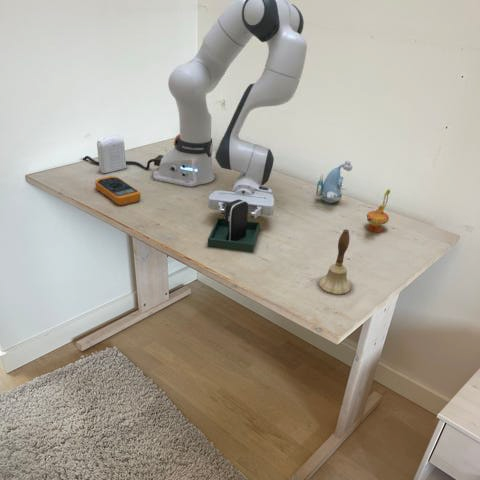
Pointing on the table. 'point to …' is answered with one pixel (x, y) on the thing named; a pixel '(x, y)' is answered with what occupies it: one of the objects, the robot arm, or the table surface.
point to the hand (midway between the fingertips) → (237, 214)
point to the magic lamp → (378, 217)
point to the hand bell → (337, 270)
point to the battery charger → (236, 219)
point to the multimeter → (117, 190)
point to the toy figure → (332, 184)
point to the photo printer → (111, 154)
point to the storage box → (242, 244)
